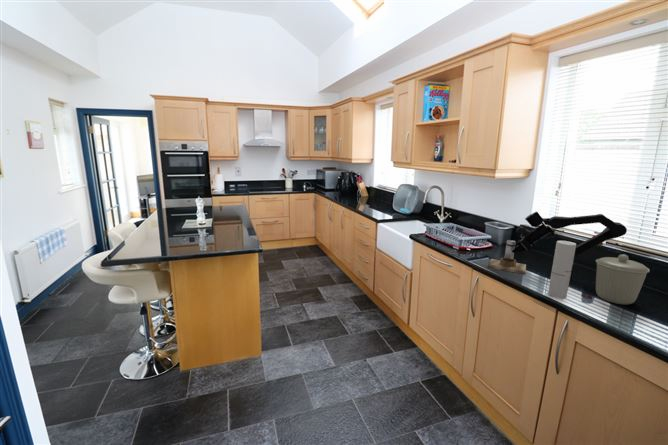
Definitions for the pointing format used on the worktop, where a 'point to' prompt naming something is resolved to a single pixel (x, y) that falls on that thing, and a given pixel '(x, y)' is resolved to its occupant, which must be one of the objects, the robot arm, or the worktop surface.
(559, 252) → the cylindrical container
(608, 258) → the canister
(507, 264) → the wooden collar
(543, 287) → the worktop surface
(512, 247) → the steel tube
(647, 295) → the worktop surface
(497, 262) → the oak base board
